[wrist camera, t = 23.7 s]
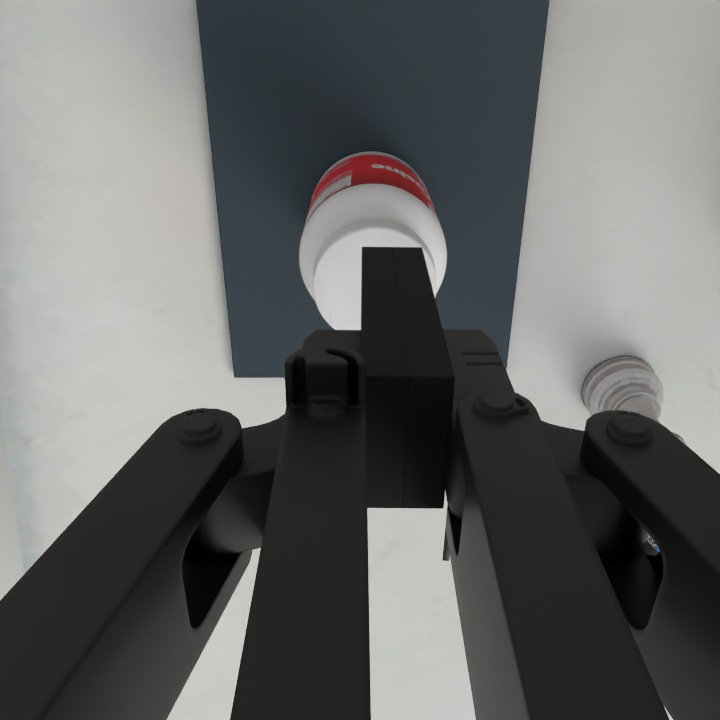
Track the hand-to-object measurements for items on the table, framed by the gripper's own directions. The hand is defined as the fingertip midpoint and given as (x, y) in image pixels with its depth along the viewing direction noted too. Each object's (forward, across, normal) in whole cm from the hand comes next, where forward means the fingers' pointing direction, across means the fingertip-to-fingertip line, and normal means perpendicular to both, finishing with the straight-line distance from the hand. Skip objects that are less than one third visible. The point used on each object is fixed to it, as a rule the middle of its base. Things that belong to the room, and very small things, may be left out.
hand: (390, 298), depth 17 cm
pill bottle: (+19, 0, -3) cm, 19 cm away
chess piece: (+19, +15, -14) cm, 28 cm away
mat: (+19, 0, -3) cm, 19 cm away
